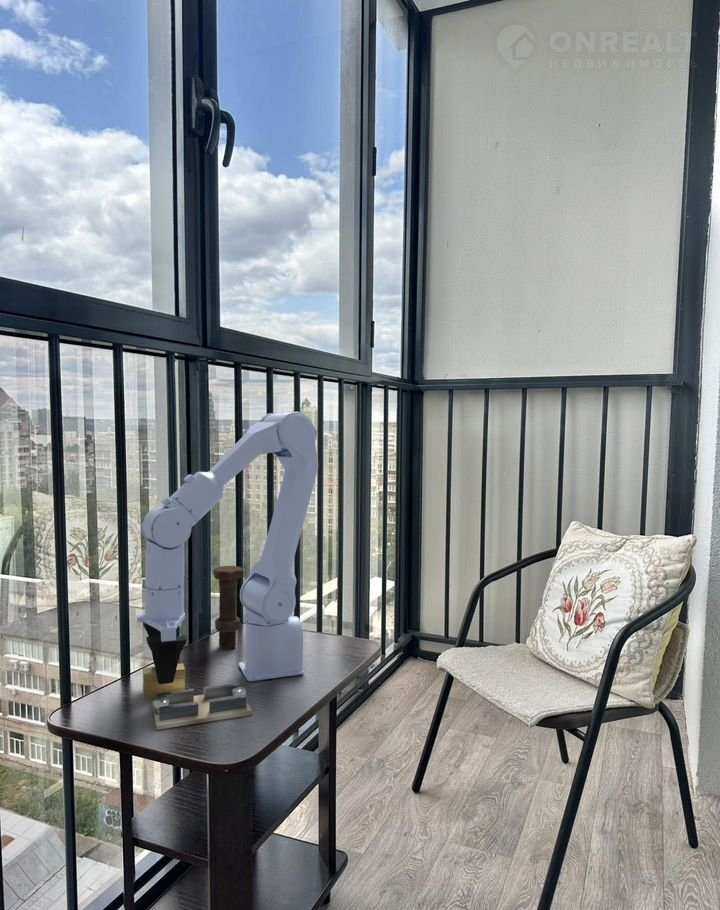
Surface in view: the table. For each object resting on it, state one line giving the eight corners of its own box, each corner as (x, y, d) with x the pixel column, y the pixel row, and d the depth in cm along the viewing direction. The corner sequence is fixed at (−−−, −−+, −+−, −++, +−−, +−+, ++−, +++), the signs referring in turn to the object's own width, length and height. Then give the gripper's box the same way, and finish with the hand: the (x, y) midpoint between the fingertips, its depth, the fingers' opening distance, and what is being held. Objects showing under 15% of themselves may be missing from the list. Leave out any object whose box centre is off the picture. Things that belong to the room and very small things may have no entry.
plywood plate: (240, 693, 96) (240, 689, 96) (251, 714, 89) (251, 710, 89) (152, 705, 91) (152, 701, 91) (156, 729, 84) (156, 725, 84)
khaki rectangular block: (182, 688, 98) (183, 663, 98) (184, 694, 96) (185, 669, 95) (142, 693, 96) (142, 668, 96) (143, 700, 93) (143, 674, 93)
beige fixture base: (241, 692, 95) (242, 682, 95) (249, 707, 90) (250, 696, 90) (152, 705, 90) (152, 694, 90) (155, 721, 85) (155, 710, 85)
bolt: (231, 640, 121) (231, 564, 120) (248, 646, 117) (249, 567, 117) (206, 648, 116) (207, 568, 116) (223, 654, 113) (224, 572, 112)
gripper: (134, 577, 100) (133, 660, 101) (139, 599, 87) (138, 695, 87) (179, 574, 103) (178, 655, 103) (191, 595, 90) (189, 688, 90)
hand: (163, 673), depth 95 cm, fingers open, 7 cm apart
